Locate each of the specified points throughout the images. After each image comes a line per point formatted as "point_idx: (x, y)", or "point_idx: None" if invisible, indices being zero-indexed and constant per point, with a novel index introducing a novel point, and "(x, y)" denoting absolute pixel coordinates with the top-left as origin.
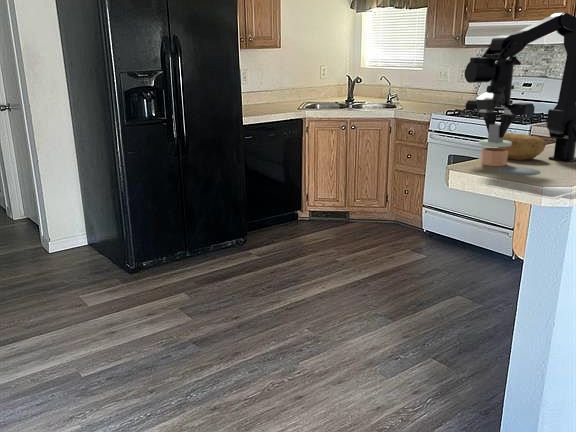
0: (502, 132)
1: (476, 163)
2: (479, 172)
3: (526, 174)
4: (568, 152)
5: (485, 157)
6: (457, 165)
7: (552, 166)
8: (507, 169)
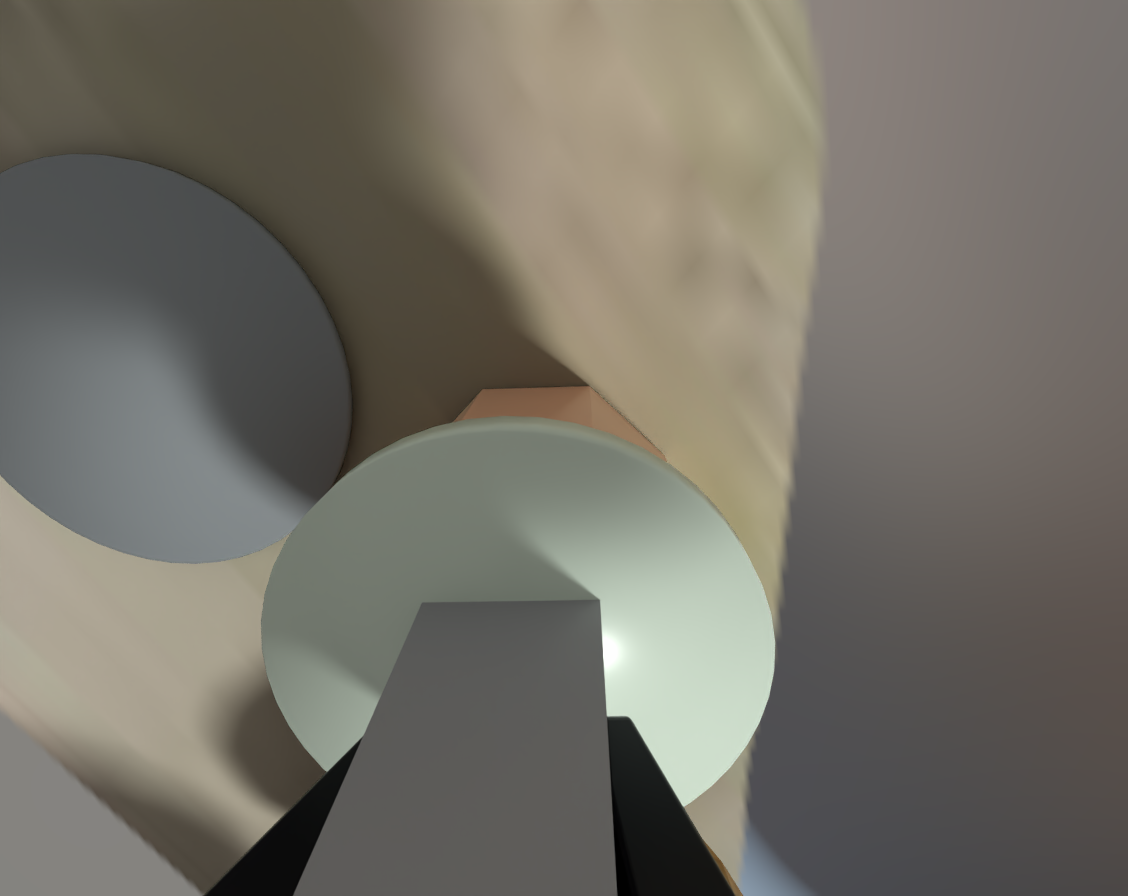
0: (298, 806)
1: (693, 439)
2: (353, 4)
3: None
4: None
5: (549, 414)
6: (786, 166)
7: (216, 774)
8: (244, 351)
